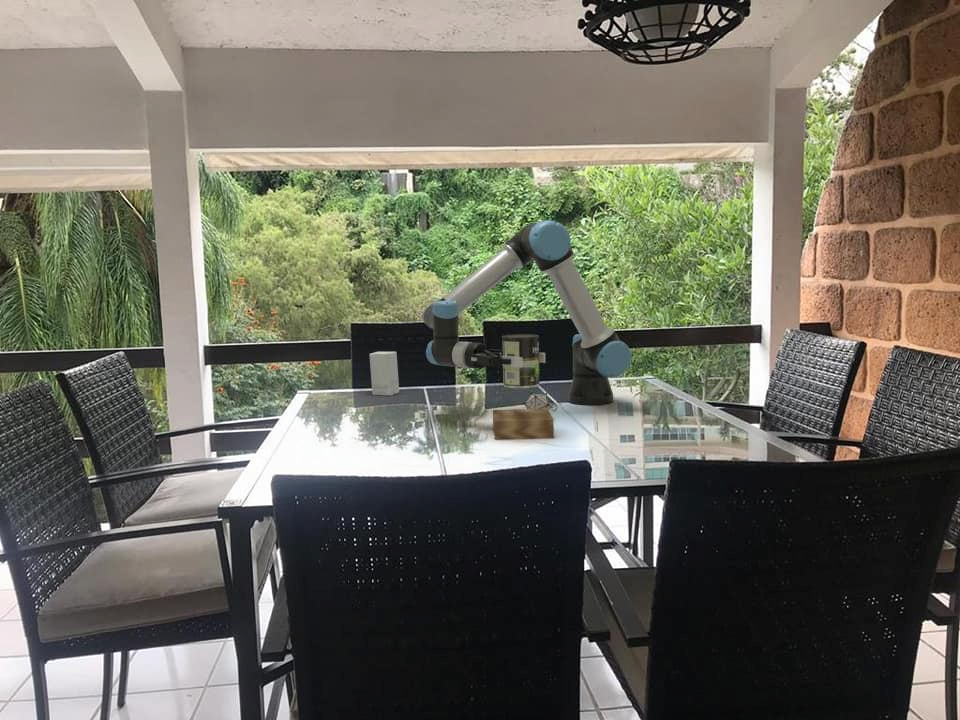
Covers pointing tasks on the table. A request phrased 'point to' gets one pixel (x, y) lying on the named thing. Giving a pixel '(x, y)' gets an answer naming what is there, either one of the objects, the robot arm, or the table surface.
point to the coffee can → (530, 352)
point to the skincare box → (384, 373)
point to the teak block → (523, 424)
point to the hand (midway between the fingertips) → (533, 360)
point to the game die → (537, 402)
